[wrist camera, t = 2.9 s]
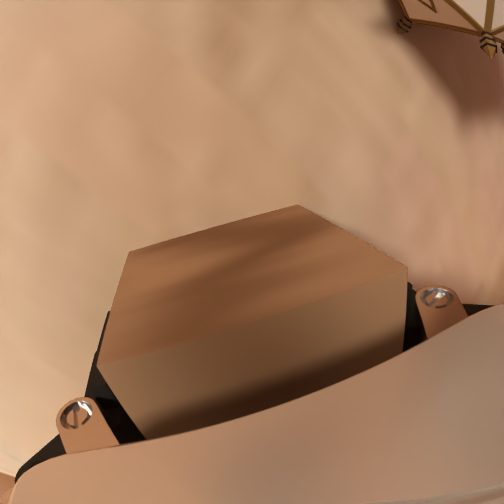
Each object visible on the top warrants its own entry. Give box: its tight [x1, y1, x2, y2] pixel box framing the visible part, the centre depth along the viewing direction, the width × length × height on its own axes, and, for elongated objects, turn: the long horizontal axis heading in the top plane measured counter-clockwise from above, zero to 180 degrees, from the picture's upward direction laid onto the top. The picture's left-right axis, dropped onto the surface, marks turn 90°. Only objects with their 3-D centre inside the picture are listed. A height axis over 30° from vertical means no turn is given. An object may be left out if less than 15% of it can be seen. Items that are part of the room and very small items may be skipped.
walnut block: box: [97, 205, 408, 440], centre depth 9 cm, size 6×6×6 cm
